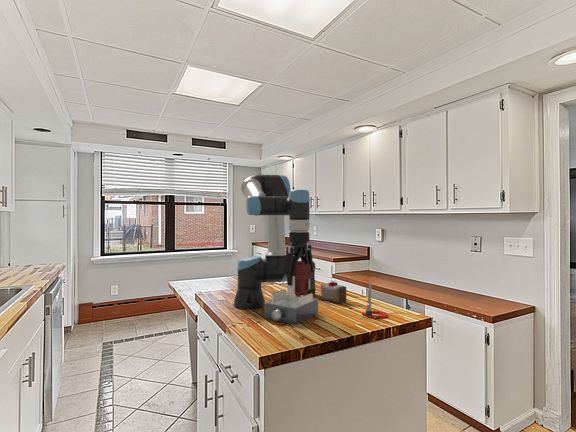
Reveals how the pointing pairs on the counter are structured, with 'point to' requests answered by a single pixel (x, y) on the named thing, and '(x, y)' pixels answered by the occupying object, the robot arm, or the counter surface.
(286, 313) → the motor housing
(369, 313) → the tow hook
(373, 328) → the counter surface
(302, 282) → the mechanical component
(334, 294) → the food item
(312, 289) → the coffee jar
